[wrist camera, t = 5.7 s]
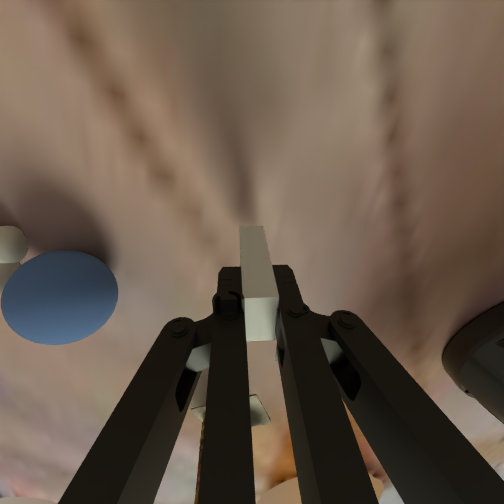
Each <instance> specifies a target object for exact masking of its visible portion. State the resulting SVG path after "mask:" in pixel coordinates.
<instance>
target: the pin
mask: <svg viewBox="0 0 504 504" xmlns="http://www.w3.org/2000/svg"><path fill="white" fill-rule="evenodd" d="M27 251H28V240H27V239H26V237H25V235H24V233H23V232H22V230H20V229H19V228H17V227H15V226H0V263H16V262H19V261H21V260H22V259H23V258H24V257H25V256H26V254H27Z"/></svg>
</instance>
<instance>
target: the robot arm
mask: <svg viewBox="0 0 504 504" xmlns="http://www.w3.org/2000/svg"><path fill="white" fill-rule="evenodd" d="M212 304H213V313H212V314H211V315H210V316H209V317H207V318H205V319H203V320H200V321H196V322H194V321H193V320H191V319H189V318H186V317H179V318H176V319H173V320H171V321H169V322H168V323H167V324H166V325H165V326H164V327H163V329H162V331H161V332H160V334H159V336H158V337H157V339H156V341H155V342H154V344H153V346H152V347H151V349H150V351H149V352H148V354H147V356H146V357H145V359H144V361H143V362H142V364H141V366H140V367H139V369H138V371H137V372H136V374H135V376H134V377H133V379H132V381H131V382H130V384H129V386H128V387H127V389H126V391H125V392H124V394H123V396H122V397H121V399H120V401H119V402H118V404H117V406H116V407H115V409H114V411H113V412H112V414H111V416H110V417H109V419H108V421H107V422H106V424H105V426H104V427H103V429H102V431H101V432H100V434H99V436H98V437H97V439H96V441H95V442H94V444H93V446H92V447H91V449H90V451H89V452H88V454H87V456H86V457H85V459H84V461H83V462H82V464H81V466H80V467H79V469H78V471H77V472H76V474H75V476H74V477H73V479H72V481H71V482H70V484H69V486H68V487H67V489H66V491H65V492H64V494H63V496H62V497H61V499H60V501H59V502H58V504H153V502H154V500H155V497H156V494H157V492H158V489H159V486H160V483H161V481H162V478H163V475H164V472H165V470H166V467H167V464H168V462H169V459H170V456H171V453H172V451H173V448H174V445H175V442H176V440H177V437H178V434H179V432H180V429H181V426H182V423H183V421H184V418H185V415H186V413H187V410H188V407H189V404H190V402H191V399H192V396H193V393H194V391H195V388H196V385H197V383H198V380H199V377H200V374H201V372H202V370H203V369H206V368H208V367H209V375H208V387H207V398H206V410H205V422H204V434H203V446H202V458H201V470H200V482H199V493H198V504H256V502H255V485H254V467H253V450H252V432H251V414H250V397H249V379H248V362H247V344H246V341H262V340H275V335H276V339H277V348H276V359H275V361H278V363H279V369H280V375H281V381H282V387H283V393H284V399H285V405H286V411H287V417H288V423H289V429H290V435H291V441H292V447H293V453H294V459H295V465H296V471H297V477H298V483H299V489H300V495H301V501H302V504H379V503H378V500H377V497H376V494H375V491H374V488H373V486H372V483H371V480H370V477H369V474H368V471H367V469H366V466H365V463H364V460H363V457H362V454H361V452H360V449H359V446H358V443H357V440H356V437H355V435H354V432H353V429H352V426H351V423H350V420H349V418H348V415H347V412H346V409H345V406H344V403H343V401H344V402H345V404H346V406H347V408H348V409H349V411H350V413H351V414H352V416H353V418H354V419H355V421H356V423H357V424H358V426H359V428H360V429H361V431H362V433H363V434H364V436H365V438H366V440H367V441H368V443H369V445H370V446H371V448H372V450H373V451H374V453H375V455H376V456H377V458H378V460H379V461H380V463H381V465H382V467H383V468H384V470H385V472H386V473H387V475H388V477H389V478H390V480H391V482H392V483H393V485H394V487H395V488H396V490H397V492H398V493H399V495H400V497H401V499H402V500H403V502H404V504H504V481H503V479H502V478H501V477H500V476H499V475H498V474H497V473H496V472H495V470H494V469H493V468H492V467H491V466H490V465H489V464H488V463H487V461H486V460H485V459H484V458H483V457H482V456H481V455H480V453H479V452H478V451H477V450H476V449H475V448H474V447H473V446H472V444H471V443H470V442H469V441H468V440H467V439H466V438H465V436H464V435H463V434H462V433H461V432H460V431H459V430H458V429H457V427H456V426H455V425H454V424H453V423H452V422H451V421H450V420H449V418H448V417H447V416H446V415H445V414H444V413H443V412H442V410H441V409H440V408H439V407H438V406H437V405H436V404H435V403H434V401H433V400H432V399H431V398H430V397H429V396H428V395H427V393H426V392H425V391H424V390H423V389H422V388H421V387H420V386H419V384H418V383H417V382H416V381H415V380H414V379H413V378H412V377H411V375H410V374H409V373H408V372H407V371H406V370H405V369H404V367H403V366H402V365H401V364H400V363H399V362H398V361H397V360H396V358H395V357H394V356H393V355H392V354H391V353H390V352H389V350H388V349H387V348H386V347H385V346H384V345H383V344H382V343H381V341H380V340H379V339H378V338H377V337H376V336H375V335H374V333H373V332H372V331H371V330H370V329H369V328H368V327H367V326H366V324H365V323H364V322H363V321H362V320H361V319H360V318H359V317H358V316H357V315H356V314H354V313H352V312H350V311H345V310H338V311H335V312H333V313H332V315H331V316H325V315H321V314H317V313H314V312H312V311H311V310H310V309H309V307H308V306H307V305H306V304H304V302H303V300H302V297H301V294H300V291H299V288H298V285H297V283H296V279H295V276H294V273H293V270H292V269H291V268H290V267H289V266H288V265H272V263H271V259H270V254H269V250H268V246H267V241H266V237H265V232H264V228H263V226H240V267H223V268H222V269H221V270H220V272H219V274H218V286H217V293H216V294H215V295H214V297H213V299H212ZM442 364H443V367H444V369H445V371H446V372H447V373H448V375H449V376H450V377H451V378H452V380H453V381H454V382H455V384H456V385H457V386H458V387H459V388H460V389H461V390H462V391H463V392H464V393H465V394H467V395H468V396H470V397H472V398H475V399H476V400H477V401H478V402H479V403H480V404H481V405H482V406H483V407H484V408H486V409H487V410H488V411H489V412H490V413H491V414H492V415H494V416H495V417H496V418H497V419H498V420H500V421H501V422H502V423H503V424H504V303H503V304H501V305H499V306H497V307H495V308H493V309H491V310H489V311H487V312H486V313H484V314H482V315H481V316H479V317H478V318H476V319H475V320H473V321H472V322H470V323H469V324H468V325H467V326H465V327H464V328H463V329H462V330H461V331H460V332H459V333H458V334H457V335H456V336H455V337H454V338H453V339H452V340H451V342H450V343H449V344H448V346H447V348H446V350H445V352H444V354H443V359H442ZM341 397H342V398H341ZM342 399H343V401H342Z"/></svg>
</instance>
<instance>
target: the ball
mask: <svg viewBox="0 0 504 504" xmlns="http://www.w3.org/2000/svg"><path fill="white" fill-rule="evenodd" d="M117 299H118V286H117V282H116V279H115V277H114V275H113V273H112V271H111V270H110V269H109V268H108V266H107V265H106V264H104V263H103V262H102V261H101V260H99V259H97V258H96V257H94V256H92V255H89V254H87V253H83V252H79V251H72V250H60V251H52V252H48V253H44V254H41V255H38V256H36V257H34V258H32V259H30V260H28V261H27V262H25V263H24V264H22V265H21V266H20V267H19V268H18V269H17V270H16V271H14V272H13V274H12V275H11V276H10V277H9V279H8V280H7V282H6V284H5V286H4V289H3V292H2V296H1V309H2V313H3V316H4V319H5V320H6V322H7V324H8V325H9V326H10V327H11V329H12V330H13V331H15V332H16V333H17V334H18V335H20V336H21V337H23V338H25V339H27V340H30V341H33V342H35V343H40V344H46V345H60V344H67V343H71V342H75V341H78V340H81V339H83V338H85V337H87V336H89V335H91V334H93V333H94V332H95V331H97V330H98V329H99V328H101V327H102V326H103V325H104V324H105V323H106V321H107V320H108V319H109V318H110V316H111V315H112V313H113V311H114V309H115V306H116V303H117Z"/></svg>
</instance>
